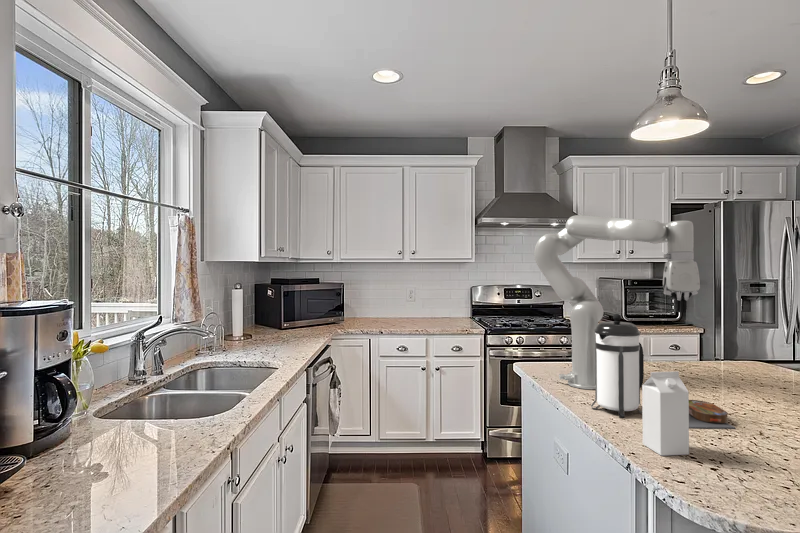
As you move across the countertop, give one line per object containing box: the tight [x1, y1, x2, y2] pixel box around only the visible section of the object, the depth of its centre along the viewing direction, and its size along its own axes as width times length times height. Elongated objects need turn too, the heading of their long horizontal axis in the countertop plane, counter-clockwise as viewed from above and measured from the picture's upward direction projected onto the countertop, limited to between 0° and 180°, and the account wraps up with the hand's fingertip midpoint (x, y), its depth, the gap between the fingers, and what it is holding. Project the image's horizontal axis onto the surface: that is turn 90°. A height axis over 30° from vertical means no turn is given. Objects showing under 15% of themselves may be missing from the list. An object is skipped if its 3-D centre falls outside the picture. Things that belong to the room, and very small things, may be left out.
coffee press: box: [591, 313, 645, 419], centre depth 143 cm, size 17×16×30 cm
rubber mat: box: [689, 414, 736, 430], centre depth 135 cm, size 12×18×1 cm
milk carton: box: [641, 371, 690, 457], centre depth 112 cm, size 7×7×19 cm
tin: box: [689, 399, 729, 423], centre depth 135 cm, size 15×3×8 cm
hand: (680, 311), depth 154 cm, fingers closed
